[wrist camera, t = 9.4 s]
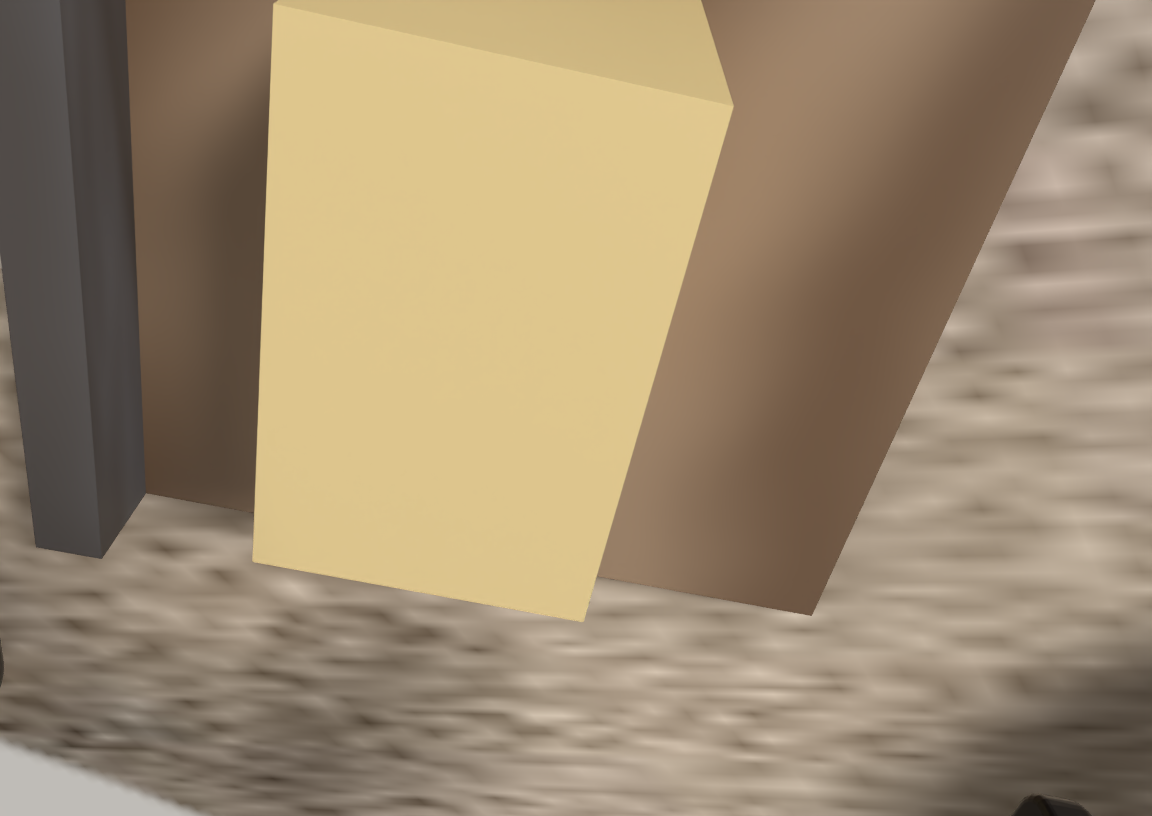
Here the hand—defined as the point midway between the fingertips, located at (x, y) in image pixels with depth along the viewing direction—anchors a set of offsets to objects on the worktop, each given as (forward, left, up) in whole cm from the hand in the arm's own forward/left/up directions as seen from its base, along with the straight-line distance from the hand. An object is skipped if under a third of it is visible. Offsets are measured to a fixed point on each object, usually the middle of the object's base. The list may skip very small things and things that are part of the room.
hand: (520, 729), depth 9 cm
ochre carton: (+1, -1, -10) cm, 10 cm away
